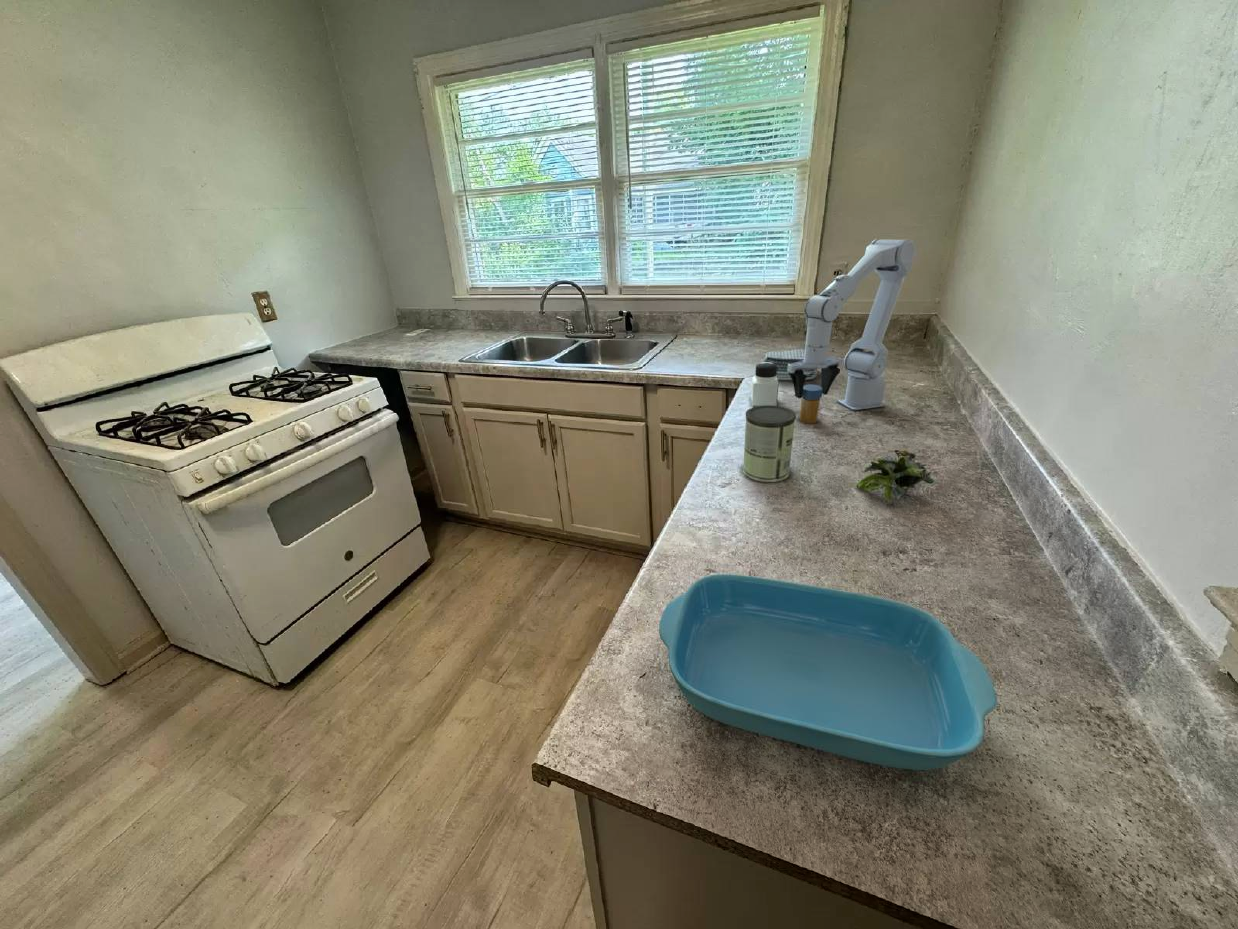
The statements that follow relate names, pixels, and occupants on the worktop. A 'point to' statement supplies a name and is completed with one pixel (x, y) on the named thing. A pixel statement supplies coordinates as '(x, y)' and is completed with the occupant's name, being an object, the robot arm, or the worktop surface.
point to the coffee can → (768, 443)
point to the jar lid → (812, 392)
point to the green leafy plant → (895, 474)
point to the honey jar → (809, 410)
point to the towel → (788, 358)
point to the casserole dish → (827, 670)
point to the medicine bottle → (765, 385)
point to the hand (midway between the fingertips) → (811, 395)
